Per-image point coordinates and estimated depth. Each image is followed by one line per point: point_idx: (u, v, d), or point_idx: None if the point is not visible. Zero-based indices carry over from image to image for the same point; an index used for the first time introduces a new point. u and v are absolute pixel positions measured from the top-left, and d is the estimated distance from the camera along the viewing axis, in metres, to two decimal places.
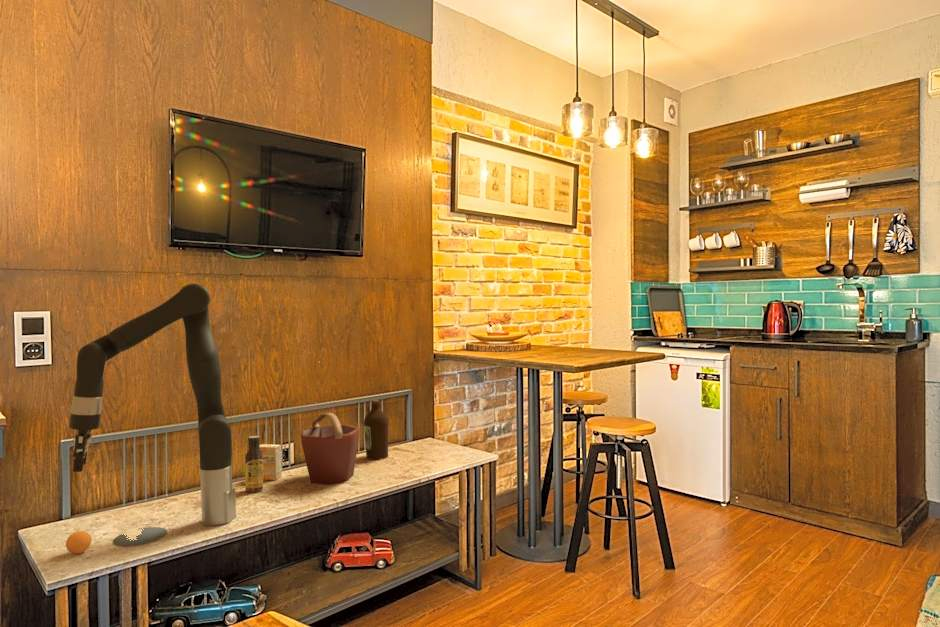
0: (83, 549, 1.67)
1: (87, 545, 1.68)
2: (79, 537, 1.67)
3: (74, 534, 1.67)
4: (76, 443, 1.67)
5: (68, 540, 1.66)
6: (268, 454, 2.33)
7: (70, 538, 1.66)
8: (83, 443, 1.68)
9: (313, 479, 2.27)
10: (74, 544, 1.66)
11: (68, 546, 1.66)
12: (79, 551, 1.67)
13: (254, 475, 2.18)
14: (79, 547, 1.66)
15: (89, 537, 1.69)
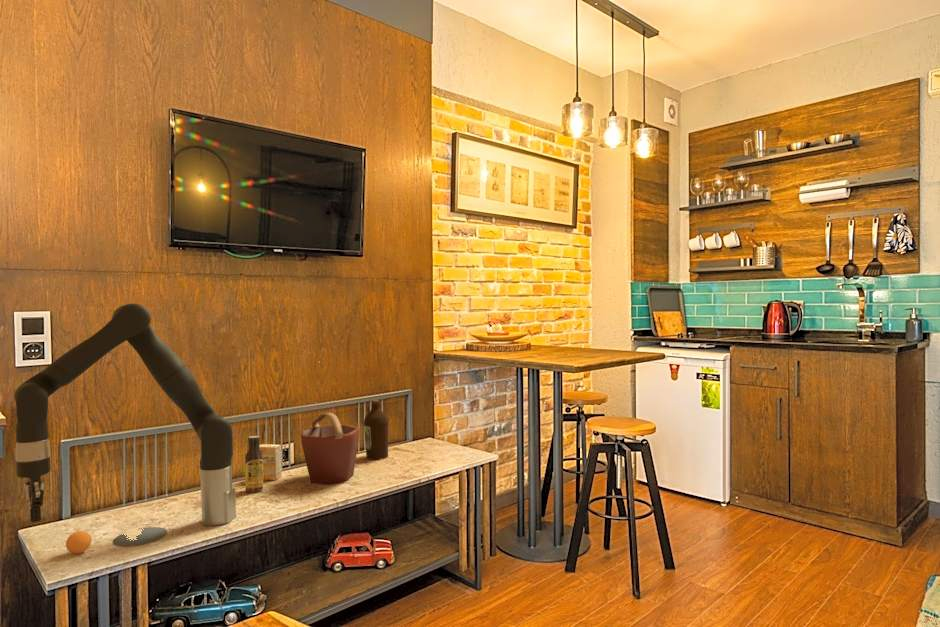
0: (83, 549, 1.67)
1: (87, 545, 1.68)
2: (79, 537, 1.67)
3: (74, 534, 1.67)
4: (33, 499, 1.57)
5: (68, 540, 1.66)
6: (268, 454, 2.33)
7: (70, 538, 1.66)
8: (41, 497, 1.58)
9: (313, 479, 2.27)
10: (74, 544, 1.66)
11: (68, 546, 1.66)
12: (79, 551, 1.67)
13: (254, 475, 2.18)
14: (79, 547, 1.66)
15: (89, 537, 1.69)
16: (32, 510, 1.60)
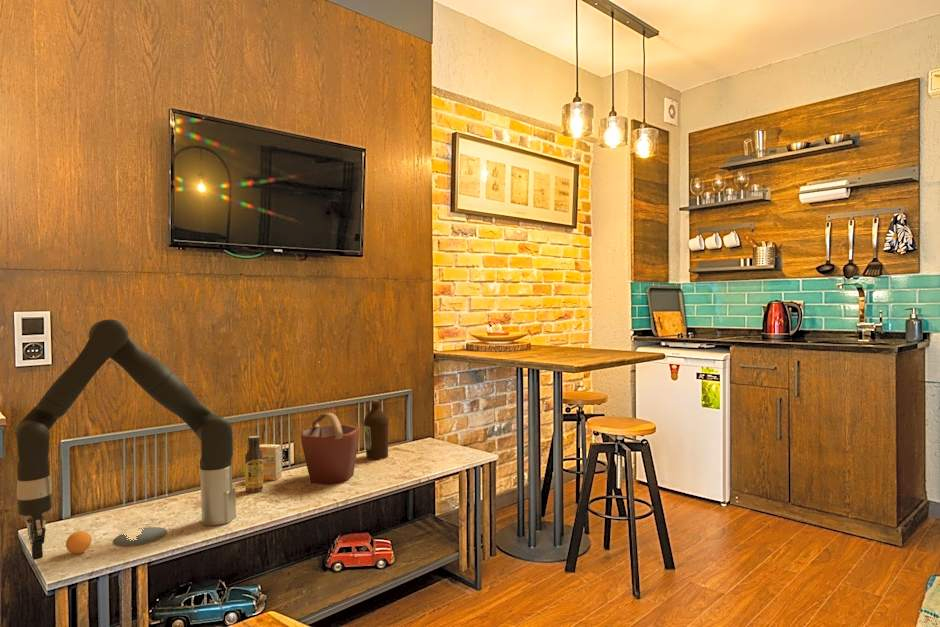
0: (83, 549, 1.67)
1: (87, 545, 1.68)
2: (79, 537, 1.67)
3: (74, 534, 1.67)
4: (35, 537, 1.57)
5: (68, 540, 1.66)
6: (268, 454, 2.33)
7: (70, 538, 1.66)
8: (43, 535, 1.59)
9: (313, 479, 2.27)
10: (74, 544, 1.66)
11: (68, 546, 1.66)
12: (79, 551, 1.67)
13: (254, 475, 2.18)
14: (79, 547, 1.66)
15: (89, 537, 1.69)
16: (34, 547, 1.61)
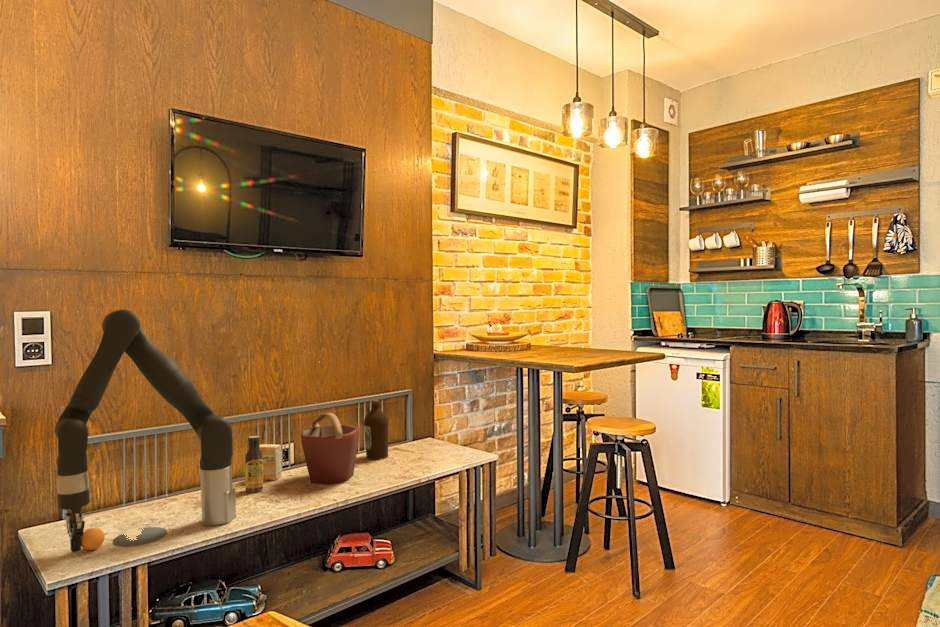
0: (91, 547, 1.68)
1: (96, 546, 1.69)
2: (99, 534, 1.70)
3: (97, 529, 1.71)
4: (75, 530, 1.63)
5: (90, 530, 1.70)
6: (268, 454, 2.33)
7: (93, 529, 1.70)
8: (82, 528, 1.64)
9: (313, 479, 2.27)
10: (91, 536, 1.69)
11: (85, 534, 1.69)
12: (87, 546, 1.68)
13: (254, 475, 2.18)
14: (92, 542, 1.68)
15: (103, 541, 1.71)
16: (73, 540, 1.66)
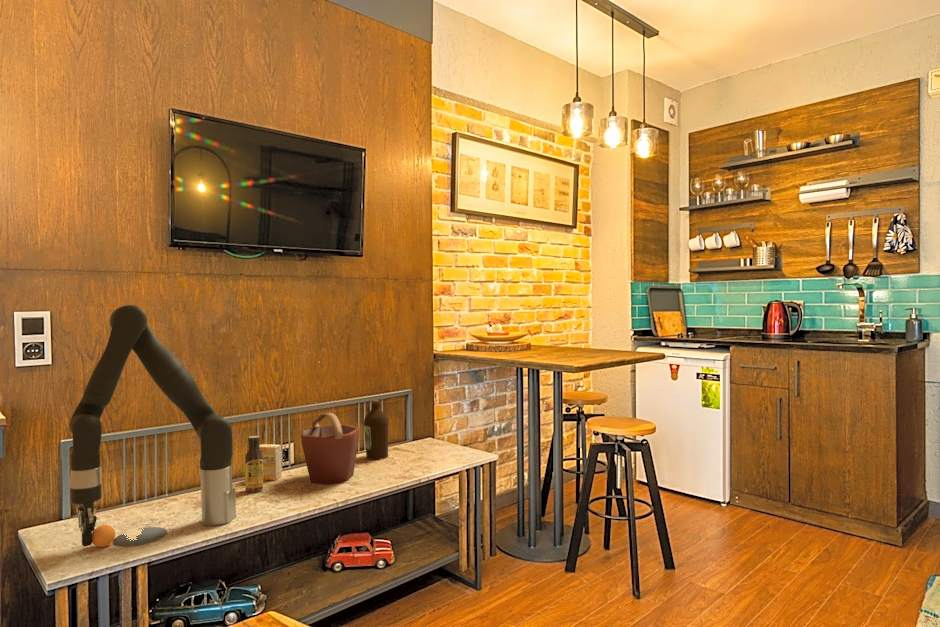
0: (98, 541, 1.70)
1: (101, 544, 1.70)
2: (113, 535, 1.72)
3: (114, 530, 1.74)
4: (87, 524, 1.65)
5: (109, 526, 1.73)
6: (268, 454, 2.33)
7: (111, 527, 1.73)
8: (93, 523, 1.67)
9: (313, 479, 2.27)
10: (107, 531, 1.71)
11: (104, 527, 1.72)
12: (97, 537, 1.70)
13: (254, 475, 2.18)
14: (103, 537, 1.70)
15: (108, 544, 1.72)
16: (84, 535, 1.69)
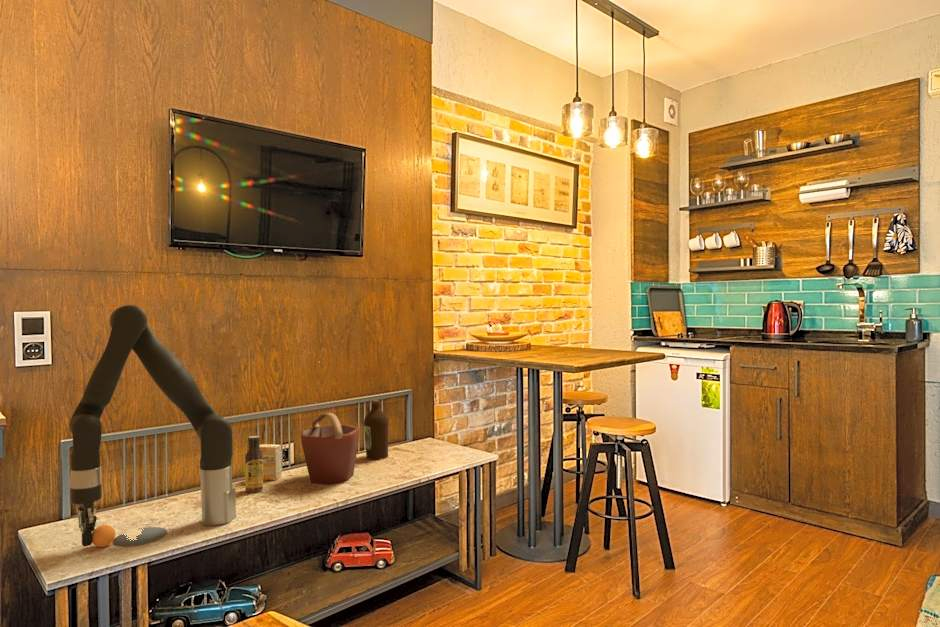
0: (98, 541, 1.70)
1: (101, 544, 1.70)
2: (113, 535, 1.72)
3: (114, 530, 1.74)
4: (87, 524, 1.65)
5: (109, 526, 1.73)
6: (268, 454, 2.33)
7: (111, 527, 1.73)
8: (93, 523, 1.67)
9: (313, 479, 2.27)
10: (107, 531, 1.71)
11: (104, 527, 1.72)
12: (97, 537, 1.70)
13: (254, 475, 2.18)
14: (103, 537, 1.70)
15: (108, 544, 1.72)
16: (84, 535, 1.69)
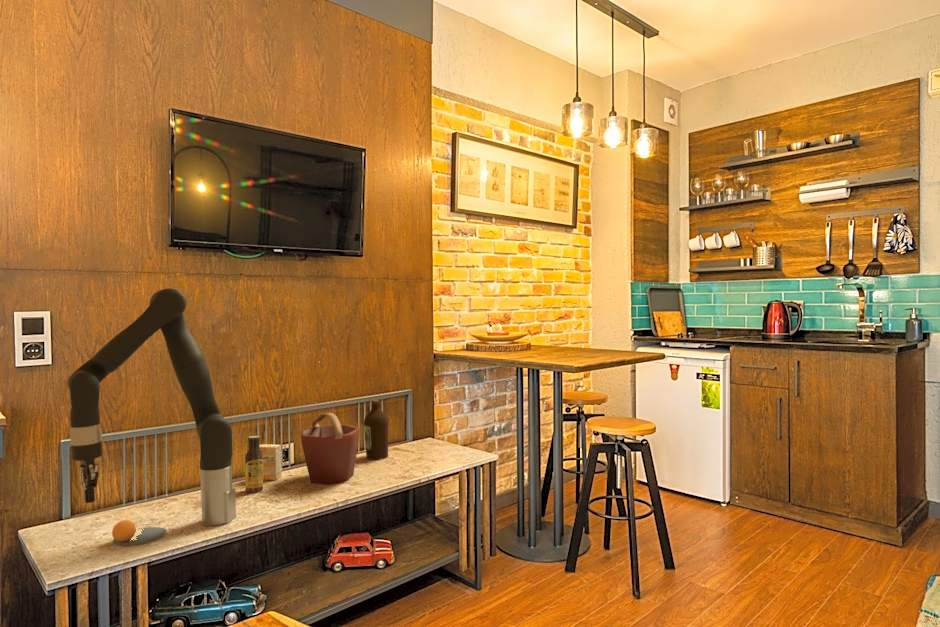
0: (124, 528, 1.74)
1: (120, 531, 1.73)
2: (124, 540, 1.74)
3: None
4: (89, 480, 1.66)
5: None
6: (268, 454, 2.33)
7: (130, 538, 1.76)
8: (95, 479, 1.67)
9: (313, 479, 2.27)
10: (131, 536, 1.75)
11: None
12: (128, 527, 1.75)
13: (254, 475, 2.18)
14: (128, 532, 1.74)
15: (115, 536, 1.73)
16: (87, 491, 1.69)
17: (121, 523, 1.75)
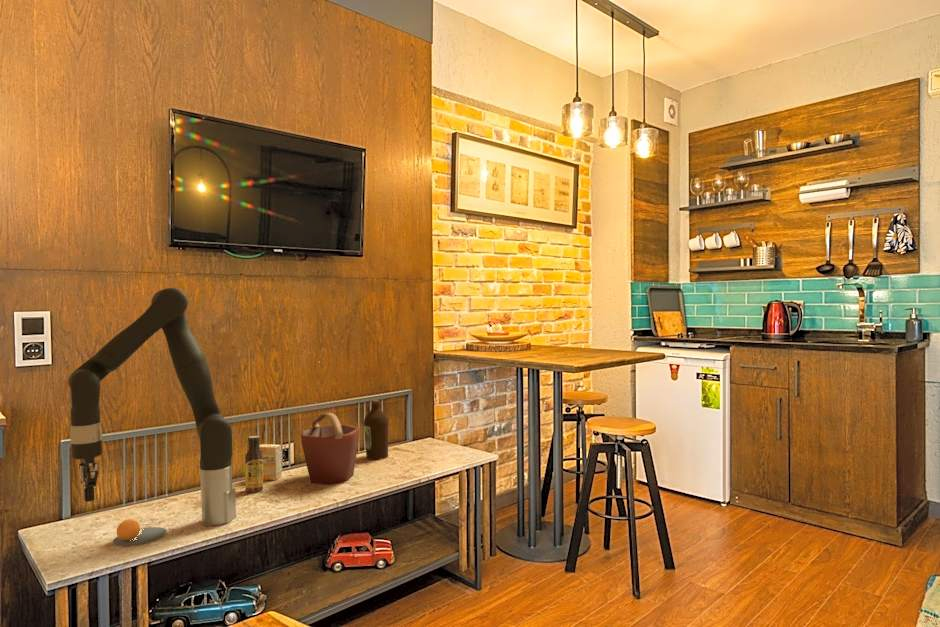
0: (131, 527, 1.75)
1: (126, 528, 1.74)
2: (125, 539, 1.74)
3: (126, 540, 1.76)
4: (88, 479, 1.66)
5: None
6: (268, 454, 2.33)
7: (131, 539, 1.77)
8: (95, 477, 1.67)
9: (313, 479, 2.27)
10: (133, 536, 1.75)
11: (137, 534, 1.77)
12: (134, 527, 1.76)
13: (254, 475, 2.18)
14: (132, 532, 1.75)
15: (119, 532, 1.74)
16: (86, 490, 1.69)
17: (129, 521, 1.76)
